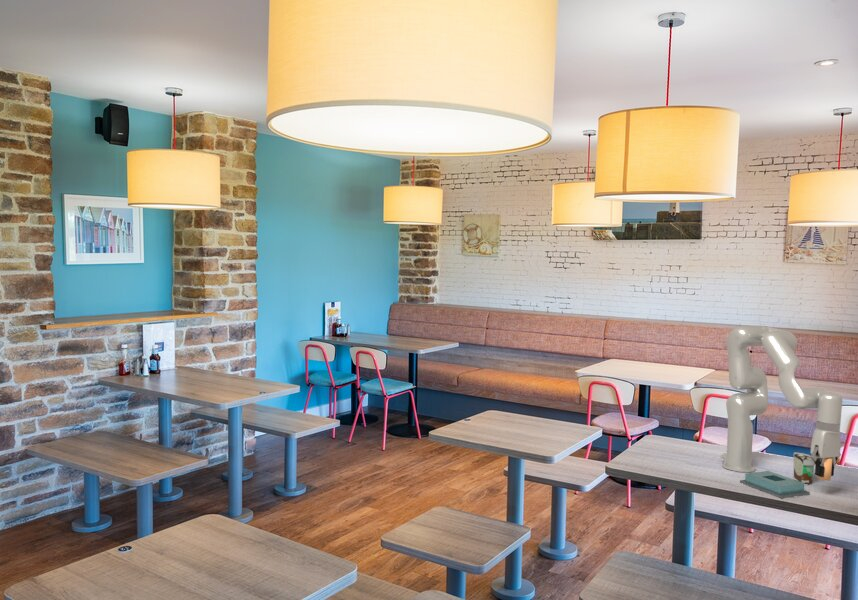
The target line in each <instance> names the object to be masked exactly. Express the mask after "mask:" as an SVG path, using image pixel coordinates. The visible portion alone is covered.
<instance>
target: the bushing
mask: <svg viewBox="0 0 858 600" xmlns="http://www.w3.org/2000/svg"><path fill="white" fill-rule="evenodd" d="M832 459H833V458H825V460H824V464H823V466H824V477H820V476H817V475H816V478H817V479H818V480H821V481H831V480H832V476H831V472H832ZM819 460H820V461H821V459H820V458H819Z"/></svg>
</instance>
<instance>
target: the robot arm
mask: <svg viewBox="0 0 858 600" xmlns="http://www.w3.org/2000/svg"><path fill="white" fill-rule="evenodd" d="M725 341H726V350H727V355H728V356H727V357H728V363H727V364H728V381H729V385H730V386H731V388H733V389H734V390H739V391H743V390H744V391H745V390H746V392H739V393H734V394H733V393H732V395H730V396H729V397H728V398H727V399H726V403H725V404H726V406H725V407H726V412H727V441H726V442H727V443H726V444H727V445H726V453H722V454H721V455H720V459H723V460H724V461H723V462H722V463H721V466H722V467H723V469H726V470H729V471H732V472H739V473H754V472H756V467H755V466H754V465H752V460H753V459H752V457H753V455H752V454H753V436H754V434H753V433H754V424H753V422H752V419H751V417H750V416H758V415H759V416H760V415H762V414H765V412H766V411H767V410H768V407H769V406H768V405H769V393H768V379H767V375H766V372H764V370H763V369H762V368H761V367H758V366H754V365H753V366H752V363H751V362H752V361H751V360H752V359H751V355H750V351H749V350H748V348H747V347H762V348H763V349H764V351H765V353H766V355H768V357H769V358H770V360H771V362H772V363H773V365H774V367H775V368H776V369H777V371H778V383H779V384H778V385H779V389H780V390H781V392H782V394H783V396H784V397H785V399H786V400H787V401H788V403H789V404H790V405H791V406H792V407H793V408H796V409H797V410H808V409H817V413H816V425H815V428H814V431H813V434H812V437H811V438H812V439H811V444H810V453H809V454H810V455H811V456H810V458H811V459H812V460H813V461H814V464H816V465H814V475H815V476H816V477H817V476H820V477H824V466H823V464H824V460H825V458H833V459H832V472H831V477H833V476H834V475H835V466H836V464H837V463H836V462H837V461H838V460H839V458H840V457H841V456H842V454H841V447H842V445H841V444H842V443H841V440H842V439H841V421H842V420H841V419H842V409H843V396H842V395H841V394H839V393H835V392H830V391H826V390H823V389H821V388H817V387H812V388H809V387H808V388H802V387H801V386H800V384H799V383H798V381H797V379H796V377H795V371H796V370H797V369H798V368H799V367H800V366H801V360H800V358H799V357H798V356H797V353H795V352H794V351H795V350H796V349H797V348H798V347H797V346H798V339H797V337H796V336H795V334H794V333H792V332H791V331H789V330H784V329H779V328H776V327H771V326H766V325H742V326H738V327H735V328H733V329H731V330H730V332H729V333H728V334H727V336H726V340H725ZM819 458H820V459H821V461H820V460H819Z"/></svg>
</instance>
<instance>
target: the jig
mask: <svg viewBox="0 0 858 600" xmlns="http://www.w3.org/2000/svg"><path fill="white" fill-rule="evenodd" d="M744 473H745V474H744V475H745V476H744V479H740V480H739V483H740V484H742V483H743V485H745V486H747V485H748V487H751V488H752V489H755V490H758V491H761V492H763V493H765V494H768V493H769V495H771V496H774V497H777V498H780V499H789V498H795V497H794V496H797V497H802V496H803V495H804V496H810V495H811V493H810V491H808V490H805V485H804V484H805V483H803V482H800V481H797V480H796V479H795V478H791V477H788V476H784V475H782V474H778V473H775V472H773V471H770V470H765V471H757V472H756V471H753V472H744ZM804 496H803V497H804ZM788 497H789V498H788Z"/></svg>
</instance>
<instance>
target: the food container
mask: <svg viewBox="0 0 858 600" xmlns="http://www.w3.org/2000/svg"><path fill="white" fill-rule="evenodd" d="M810 456H811V454H808V453H803V452H795V451H794V452H793V455H792V457H793V476H792V477H793V479H794V480H797V481H800V482H803V483H805V484H808V485H812V483H813V476H814V471H815V465H816V464H814V461H813V460H812V459H811V458H810Z"/></svg>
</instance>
